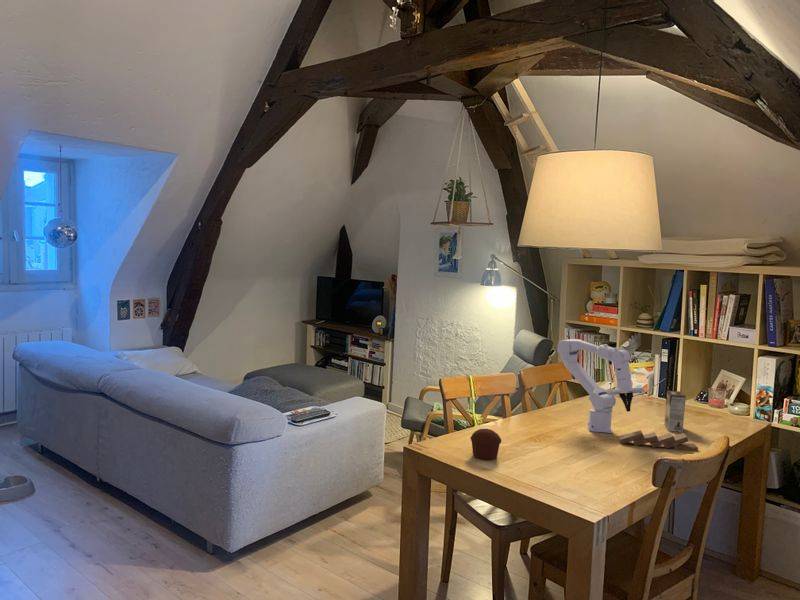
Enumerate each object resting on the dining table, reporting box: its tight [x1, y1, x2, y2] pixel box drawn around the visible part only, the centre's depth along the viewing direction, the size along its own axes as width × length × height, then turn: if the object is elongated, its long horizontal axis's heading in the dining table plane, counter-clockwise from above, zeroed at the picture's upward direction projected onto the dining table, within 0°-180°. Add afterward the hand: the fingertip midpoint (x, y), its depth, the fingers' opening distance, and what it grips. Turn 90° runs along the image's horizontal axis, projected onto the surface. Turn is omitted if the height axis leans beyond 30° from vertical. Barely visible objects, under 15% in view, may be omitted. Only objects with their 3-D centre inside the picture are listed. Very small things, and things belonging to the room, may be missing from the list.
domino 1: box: [618, 429, 644, 445], centre depth 257 cm, size 2×5×9 cm
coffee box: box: [663, 390, 687, 433], centre depth 280 cm, size 9×6×16 cm
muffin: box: [470, 428, 502, 461], centre depth 235 cm, size 12×11×10 cm
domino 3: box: [649, 432, 675, 449], centre depth 254 cm, size 2×5×9 cm
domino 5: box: [671, 442, 699, 452], centre depth 254 cm, size 2×5×9 cm
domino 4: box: [663, 432, 690, 449], centre depth 254 cm, size 2×5×9 cm
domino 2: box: [632, 432, 658, 447], centre depth 256 cm, size 2×5×9 cm
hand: (628, 411), depth 265 cm, fingers closed
